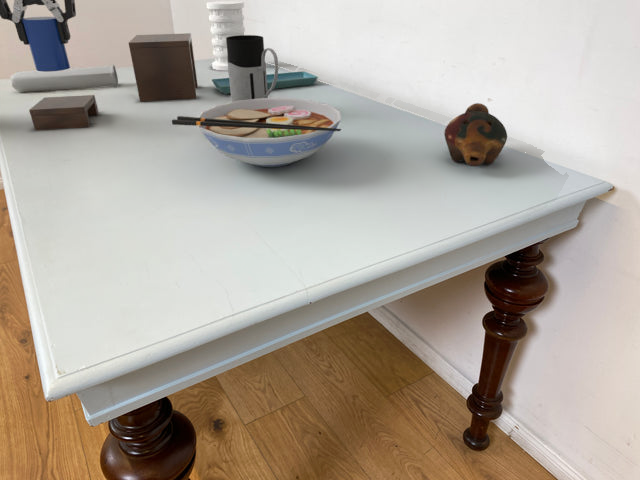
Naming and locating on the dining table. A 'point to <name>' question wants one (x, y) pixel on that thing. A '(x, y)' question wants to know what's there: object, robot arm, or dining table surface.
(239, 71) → the glass holder
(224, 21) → the decorative container
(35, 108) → the low shelf
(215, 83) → the teal serving tray
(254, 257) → the dining table surface
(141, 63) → the brown block
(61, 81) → the tube
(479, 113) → the decorative turtle
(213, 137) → the ramen bowl
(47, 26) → the can
